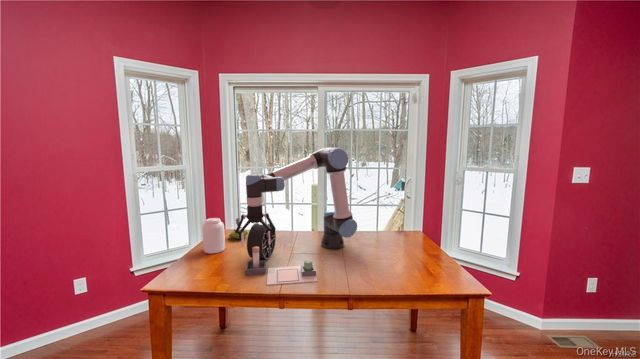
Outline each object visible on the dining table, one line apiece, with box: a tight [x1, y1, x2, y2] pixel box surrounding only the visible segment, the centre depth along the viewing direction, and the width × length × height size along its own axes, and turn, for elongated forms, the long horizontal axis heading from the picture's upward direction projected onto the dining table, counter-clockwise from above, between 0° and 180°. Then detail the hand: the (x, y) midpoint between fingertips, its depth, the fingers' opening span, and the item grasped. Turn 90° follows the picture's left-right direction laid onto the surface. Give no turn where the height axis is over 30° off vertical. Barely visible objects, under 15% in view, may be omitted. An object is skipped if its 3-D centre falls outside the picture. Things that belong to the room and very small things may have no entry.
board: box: [266, 265, 318, 286], centre depth 135 cm, size 24×17×1 cm
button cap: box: [303, 260, 314, 271], centre depth 136 cm, size 4×4×4 cm
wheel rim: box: [246, 223, 277, 260], centre depth 156 cm, size 20×9×20 cm, turn 168°
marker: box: [252, 246, 260, 269], centre depth 140 cm, size 3×3×12 cm
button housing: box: [300, 264, 317, 277], centre depth 137 cm, size 7×7×2 cm
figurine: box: [228, 217, 249, 240], centre depth 188 cm, size 14×13×15 cm
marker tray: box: [244, 259, 267, 276], centre depth 140 cm, size 10×10×3 cm
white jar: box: [202, 217, 226, 255], centre depth 166 cm, size 12×12×20 cm
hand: (256, 244), depth 139 cm, fingers open, 13 cm apart
